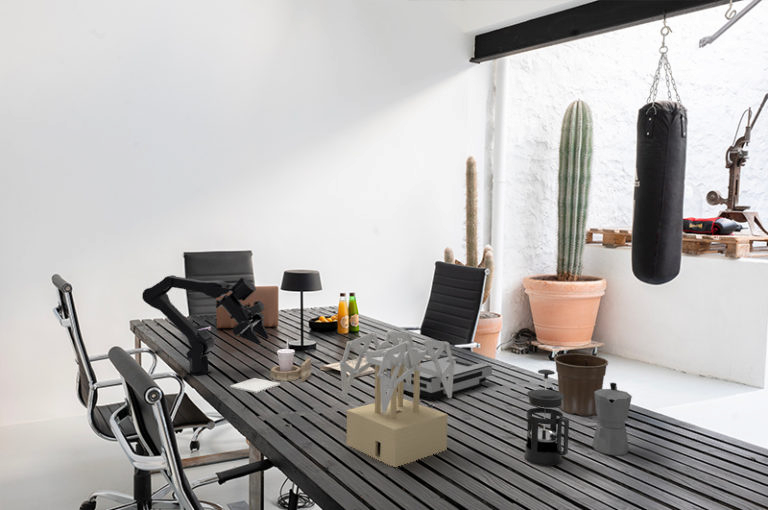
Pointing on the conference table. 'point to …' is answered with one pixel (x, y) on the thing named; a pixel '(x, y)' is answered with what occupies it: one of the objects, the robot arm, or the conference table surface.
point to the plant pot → (579, 381)
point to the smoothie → (286, 359)
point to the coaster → (254, 385)
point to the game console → (463, 378)
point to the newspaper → (352, 363)
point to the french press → (541, 440)
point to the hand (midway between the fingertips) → (264, 341)
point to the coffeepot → (611, 421)
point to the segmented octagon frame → (293, 372)
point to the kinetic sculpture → (396, 400)
